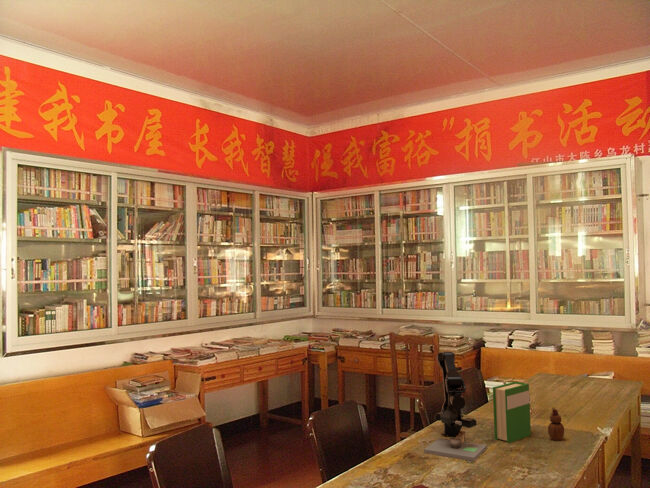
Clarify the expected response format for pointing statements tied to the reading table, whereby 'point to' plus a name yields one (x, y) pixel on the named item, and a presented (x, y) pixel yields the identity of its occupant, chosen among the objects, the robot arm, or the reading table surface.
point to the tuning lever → (457, 440)
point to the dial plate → (456, 449)
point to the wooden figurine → (555, 426)
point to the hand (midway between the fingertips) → (455, 438)
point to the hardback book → (511, 411)
